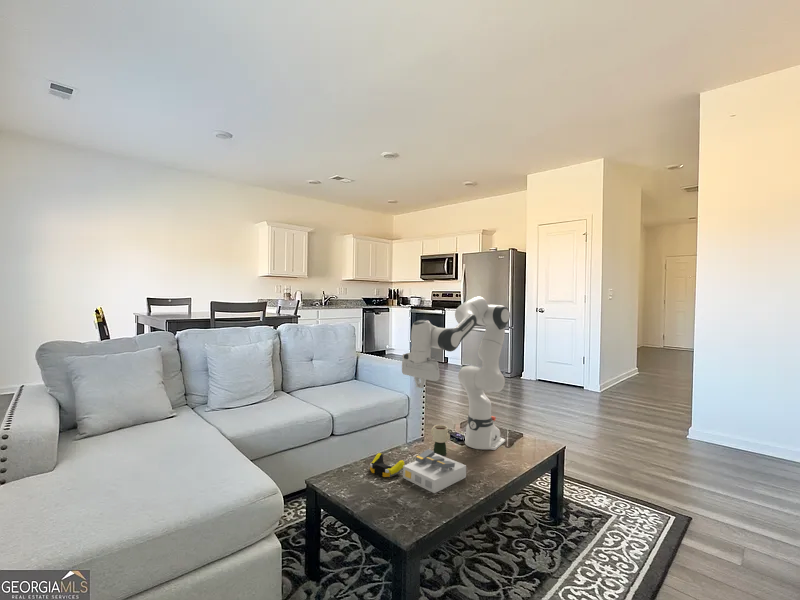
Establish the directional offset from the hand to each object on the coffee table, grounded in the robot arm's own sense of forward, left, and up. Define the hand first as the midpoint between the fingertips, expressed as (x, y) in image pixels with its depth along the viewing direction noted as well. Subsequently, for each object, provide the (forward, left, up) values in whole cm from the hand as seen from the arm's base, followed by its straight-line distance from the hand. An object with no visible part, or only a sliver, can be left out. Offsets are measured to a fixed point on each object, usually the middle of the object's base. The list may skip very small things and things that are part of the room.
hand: (419, 387), depth 177 cm
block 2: (+5, +19, -27) cm, 33 cm away
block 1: (+5, +8, -27) cm, 29 cm away
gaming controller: (+17, -4, -34) cm, 38 cm away
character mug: (-15, 0, -34) cm, 37 cm away
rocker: (+5, +14, -27) cm, 31 cm away
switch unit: (+5, +14, -34) cm, 37 cm away
